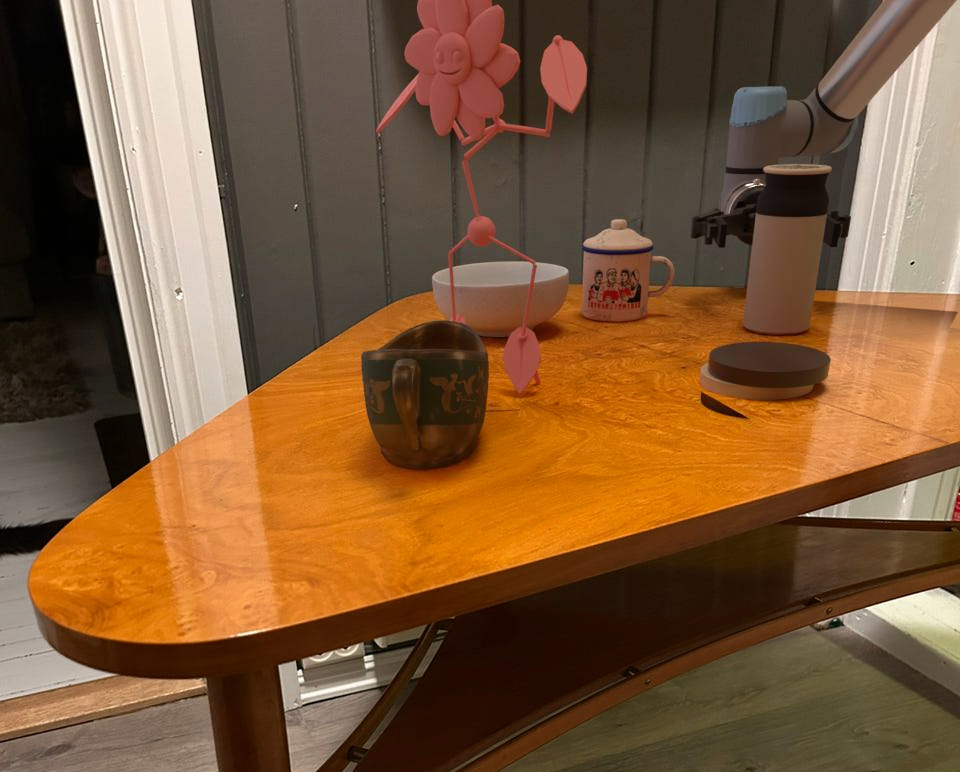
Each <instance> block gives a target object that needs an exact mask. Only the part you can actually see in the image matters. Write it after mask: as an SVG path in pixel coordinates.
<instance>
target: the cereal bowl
mask: <svg viewBox="0 0 960 772" xmlns="http://www.w3.org/2000/svg"><path fill="white" fill-rule="evenodd" d="M535 265H537V268H536V273H535V279H534V285H533V291H532V297H531V303H530V308H529V314H528V320H527V326H526V327H527V328H529V329H530V330H532V331H533V330H534V329H535V327H537V326H539V325H541V324H542V323H544V322H545V323H546V322H547V321H548V320H550V319H551V318H553V317H555V315H557V314H558V312H560V310H561V309H562V308H563V306H564V304H565V302H566V299H567V296H568V293H569V292H568V291H569V284H570V281H569V280H570V274H569V273H570V271H569V270H568V268H566V267H564V266H561V265H558V264H553V263H546V262H537V261H536V263H535ZM532 268H533V264H532V263H530V262H528V261H489V262H487V261H486V262H477V263H476V262H475V263H469V264H462V265H457V266H453V281H454V296H455V311H456V316H457V315H462V317H465V323H466V325H468V326H469V327H471V328H472V329H473V330H474V331H475V332H476V333H477V334H478V335H479V337H486V338H509V337H510V334H511V333H512V332H513V331H515V330H516V329H517V328H519V327H521V328H523V322H524V316H525V310H526V304H527V298H528V292H529V286H530V280H531V274H532ZM431 284H432V285H431V286H432V293H433V297H434V301H435V304H436V306H437V309H438V310H439V312H440V314H441V315H442V316H444V318H445V319H446V320H450V319H451V318H452V317H453V314H452V300H451V286H450V272H449V267H448V268H444V269H441V270H438V271H437V272H435V273H434V274H433V275H432V277H431Z"/></svg>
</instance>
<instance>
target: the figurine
mask: <svg viewBox="0 0 960 772" xmlns="http://www.w3.org/2000/svg"><path fill="white" fill-rule="evenodd" d="M416 11H417V16H418V19H419V22H420V23H421V25H422V27H423V28H421V29H420V30H419V31H418V32H417V31H416V33H414V34H413V35H412V36H411V37H410V38H409V41H408V42H407V44H406V46H405V49H404V58H405V62H406V63H407V64H408V65H409V66H411V67H413V68H414V69H415V70H417V71H418V73H417V75H415V77H414V78H413V79H412V80H411V81H410V82H409V83H408V84H407V86H405V88H404V89H403V90H402V92H401V93H400V94H399V95H398V97H397V98H396V99H395V100H394V102H393V104H392V105H391V106H390V107H389V109H388V111H386V114H384V116H383V118H382V120H381V121H380V123H379V125H378V127H377V128H376V130H375V132H376V134H379V133H381V131H382V130H384V129H385V127H387V125H388V124H389V123H390V122H391V121H392V120H393V119H394V118H395V117H396V115H398V113H399V112H400V111H401V110H402V108H403V107H404V106H405V105H406V104H407V102H408V101H409V100H410V98H411V97H412V96H413V95H414V93H415V98H416V101H417V102H418V103H419V105H420V106H429V113H430V118H431V122H432V126H433V129H434V130H435V132H436V134H437V135H438V136H441V137H445V136H446V135H447V134H449V133H450V132H451V131H452V129H453V130H454V132H455V134H456V136H457V137H458V140H459V141H460V142H461V146H462V147H463V146H464V147H465V146H466V145H468V144H470V143H472V142H474V141H478V142H477V143H475V145H474V146H472V147H471V148H470V149H469V150H467V151H466V152H465V153H464V154H463V158H464V159H463V160H462V161H461V165H462V168H463V172H464V177H465V180H466V184H467V186H468V191H469V195H470V200H471V202H472V206H473V210H474V214H475V217H474V218H473V219H471V221H470V222H469V223H468V226H467V234H466V236H464V237H463V238H462V239H461V240H460V241H459V242H458V243H457V244H456V245H455V246H453V248H452V249H451V250H449V251H448V255H447V257H448V268H449V272H450V286H451V300H452V314H453V317H452V318H451V319H450V320H449V321H456V322H458V323H464V324H466V323H465V317H462V315H457V316H456V311H455V296H454V281H453V267H454V266H453V254H454V253H455V252H456V251H457V250H458V249H460V247H461V246H463V245H464V244H465V243H466V242H467V241H468V240H469V241H470V242H471V243H472V244H473V245H474V246H477V247H485V246H486V247H487V246H488V245H490V244H491V243H494V244H496V245H498V246H500V247H501V248H503V249H505V250H507V251H508V252H510V253H512V254H514V255H515V256H517V257H519V258H521V259H522V260H525V262H530V263H532V264H533V268H532V274H531V280H530V286H529V292H528V298H527V304H526V310H525V316H524V322H523V328H521V327H519V328H517V329H516V330H515V331H513V332H512V333H511V334H510V337H508V339H507V342H506V344H505V346H504V348H503V356H502V362H503V367H504V370H505V373H506V375H507V377H508V379H509V380H510V382H511V383H512V385H513V387H514V388H515V389H516V390H517V392H518V393H519V394H520V395H521V394H522V393H523V392H524V391H525V390H526V389H527V387H528V386H529V385H530V383H531V382H532V380H533V379H534V382H535V384H538V385H539V384H540V383H541V378H540V375H539V372H538V370H539V366H540V363H541V360H542V357H541V355H542V354H541V347H540V344H539V341H538V338H537V336H536V334H535V331H533V330H530V329H529V328H527V327H526V326H527V320H528V314H529V308H530V303H531V297H532V291H533V285H534V279H535V273H536V268H537V265H535V263H536V262H537V261H536V260H534V259H532V258H531V257H528V256H527V255H525V254H524V253H521V252H520V251H518V250H516V249H514V248H512V247H511V246H509V245H507V244H505V243H503V242H502V241H500V240H498V239H496V238H495V236H496V226H495V223H494V222H493V221H492V220H491V219H490V217H487V216H484V215H480V211H479V207H478V203H477V198H476V193H475V188H474V184H473V180H472V175H471V171H470V167H469V161H468V160H469V159H470V158H471V157H472V156H474V155H475V154H476V153H477V152H478V151H479V150H480V149H482V147H483V146H485V145H486V144H487V143H488V142H489V141H490V140H491V139H493V137H495V135H497V134H500V133H501V134H502V133H503V132H505V131H508V132H509V131H510V132H514V133H515V132H516V133H522V134H526V135H527V134H528V135H535V136H542V137H547V138H550V137H551V134H550V132H551V131H552V128H553V120H554V119H553V118H554V111H555V109H554V108H555V104H556V105H558V106H559V107H560V108H561V109H563V110H565V111H567V112H568V113H570V114H572V115H573V114H574V113H575V111H576V109H577V108H578V105H579V104H580V101H581V100H582V97H583V95H584V92H585V90H586V88H587V79H588V66H587V63H586V61H585V58H584V54H583V53H582V52H581V51H580V49H579V48H578V47H577V46H576V45H575V43H574V42H573V41H570V40H567V39H564V38H563V37H562V36H561V35H560V34H559V35H558V34H557V35H554V37H553V39H552V41H551V43H550V44H549V45H548V46H547V48H545V50H544V51H543V55H542V58H541V63H540V67H539V69H540V80H541V84H542V86H543V89H544V90H545V92H546V94H547V96H548V101H547V111H546V118H545V119H546V120H545V129H544V128H537V127H533V126H525V125H518V124H512V123H506V122H505V120H503V119H501V118H500V116H501V115H502V114H503V113H504V108H505V101H504V94H503V92H502V91H501V90H500V89H499V88H502V87H503V86H505V85H506V84H507V83H508V82H509V81H511V80H513V78H514V76H515V74H516V73H517V72H518V70H519V68H520V64H521V59H520V54H519V52H518V51H517V50H515V48H513V47H511V46H510V45H507V44H505V43H502V40H503V37H504V32H505V31H504V30H505V19H506V18H505V12H504V9H503V7H501V6H500V5H499V4H496V5H493V0H417V6H416ZM486 119H492V120H493V123H494V124H492V125H490V126H487V127H486ZM457 122H458V123H459V125H460V126H461V127H462V129H463V130H464V133H466V135H468V136H466V137H465V136H464V134H463V132H462V130H461V129H460V127H459V125H458V123H457ZM519 411H521V410H520V408H516V409H515V408H513V409H497V410H493V409H492V410H491V409H490V410H486V412H485V413H504V412H506V413H507V412H519Z"/></svg>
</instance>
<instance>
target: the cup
mask: <svg viewBox="0 0 960 772" xmlns="http://www.w3.org/2000/svg"><path fill="white" fill-rule="evenodd" d="M360 358H361V361H360V363H361V376H362V377H361V378H362V380H361V381H362V386H363V395H364V404H365V410H366V415H367V416H366V417H367V419H368V422H369V426H370V429H371V431H372V435H373V437H374V439H375V441H376V443H377V444H378V446H379V447H380V450H381V451H380V453H381V455H382V456H383V457H384V459H385V460H386V462H387V463H390V464H392V465H393V466H395V467H399V468H403V469H407V470H415V471H422V470H423V471H428V470H437V469H444V468H448V467H452V466H454V465H458V464H459V463H461V462H463V461H464V460H466V459H467V458H468V457H470V455H471V454H472V453H473V452H474V451H475V450H476V447H477V445H478V442H479V436H480V433H481V431H482V428H483V425H484V422H485V417H486V413H487V412H486V411H487V406H488V405H487V404H488V393H489V382H490V381H489V378H490V364H489V363H490V361H489V353H488V350H487V348H486V346H485V343H484V342H483V340H482V338H481V336H479V335H478V334H477V333H476V332H475V331H474V330H473V329H472V328H471V327H469V326H468V325H466V324H464V323H458V322H456V321H449V320H448V319H444V320H443V319H439V320H431V321H426V322H422V323H420V324H417V325H415V326H412V327H410V328H408V329H406V330H404V331H402V332H401V333H399V334H398V335H396V336H394V337H393V338H392V339H391V340H389V341H388V342H386V343H385V344H383V345H382V346H381V347H379V348H378V349H372V350H364V351H362V353H361V355H360Z"/></svg>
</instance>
